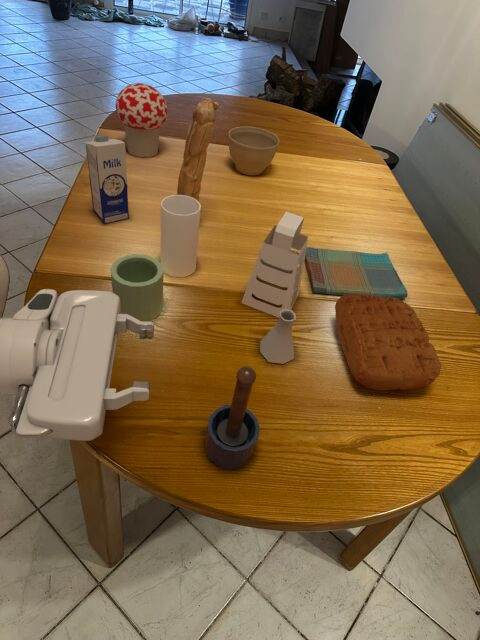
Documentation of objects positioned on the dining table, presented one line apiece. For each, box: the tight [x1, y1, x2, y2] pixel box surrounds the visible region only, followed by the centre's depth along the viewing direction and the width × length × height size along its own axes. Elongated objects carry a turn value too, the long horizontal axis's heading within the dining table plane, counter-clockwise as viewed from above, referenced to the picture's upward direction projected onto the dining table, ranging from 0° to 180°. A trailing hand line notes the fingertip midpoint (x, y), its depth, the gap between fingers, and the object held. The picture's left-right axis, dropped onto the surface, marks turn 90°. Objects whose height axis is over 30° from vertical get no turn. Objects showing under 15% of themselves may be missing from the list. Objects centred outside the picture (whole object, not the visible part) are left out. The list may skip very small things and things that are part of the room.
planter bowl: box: [228, 126, 280, 176], centre depth 136 cm, size 16×16×11 cm
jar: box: [110, 253, 165, 322], centre depth 84 cm, size 10×10×10 cm
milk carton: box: [84, 134, 130, 225], centre depth 102 cm, size 7×7×20 cm
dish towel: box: [304, 246, 408, 300], centre depth 104 cm, size 17×23×2 cm
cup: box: [159, 194, 202, 278], centre depth 92 cm, size 8×8×16 cm
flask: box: [259, 309, 297, 365], centre depth 80 cm, size 7×7×10 cm
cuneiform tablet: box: [334, 294, 442, 391], centre depth 84 cm, size 22×17×8 cm
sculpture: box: [176, 97, 220, 204], centre depth 102 cm, size 7×9×30 cm
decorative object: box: [115, 82, 168, 158], centre depth 131 cm, size 16×16×20 cm
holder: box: [204, 404, 261, 470], centre depth 65 cm, size 8×8×6 cm
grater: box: [240, 211, 309, 319], centre depth 88 cm, size 10×10×20 cm
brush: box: [216, 365, 257, 447], centre depth 60 cm, size 5×5×19 cm
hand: (151, 358), depth 51 cm, fingers open, 8 cm apart
